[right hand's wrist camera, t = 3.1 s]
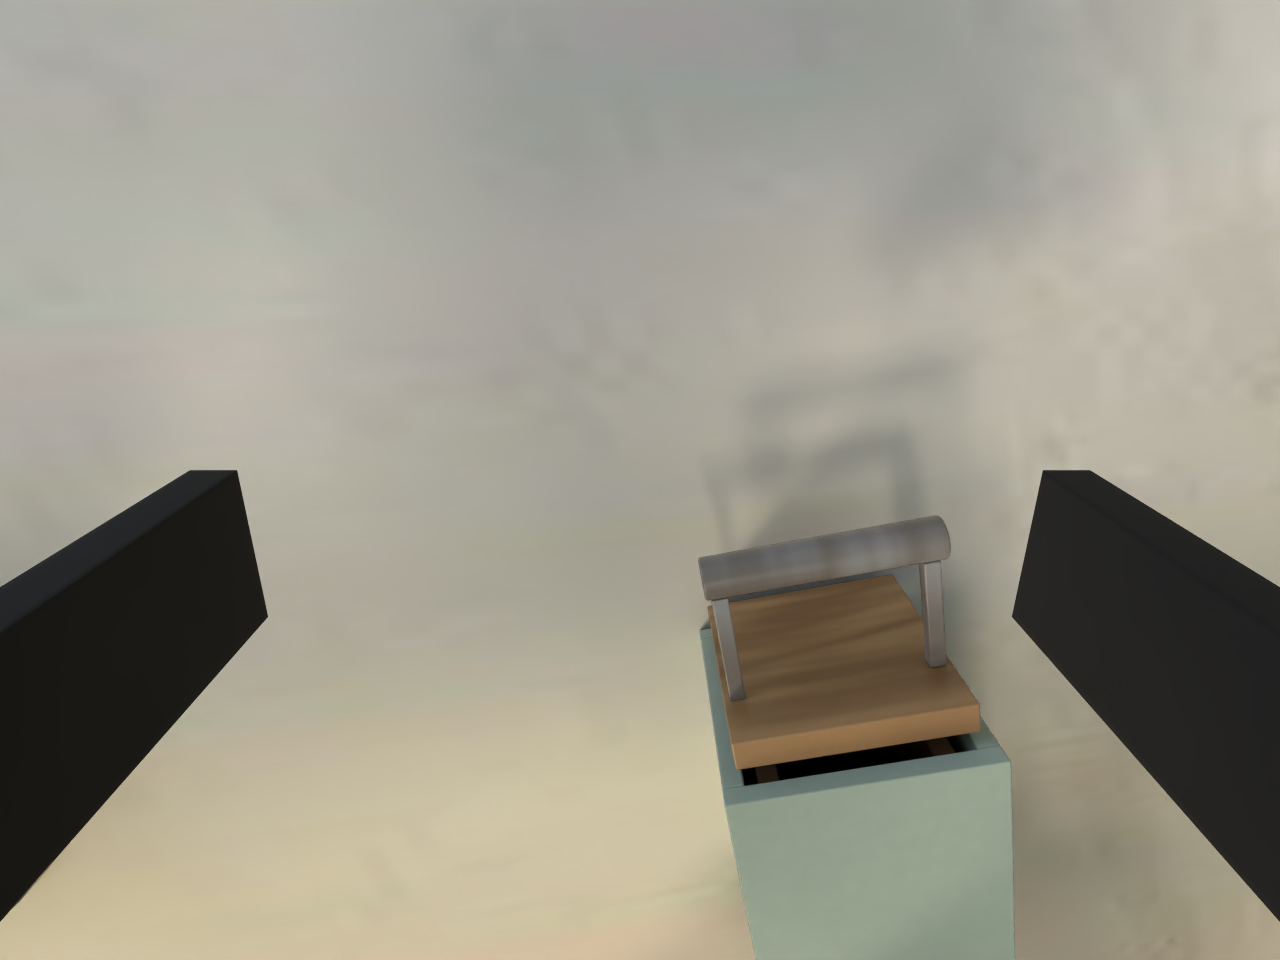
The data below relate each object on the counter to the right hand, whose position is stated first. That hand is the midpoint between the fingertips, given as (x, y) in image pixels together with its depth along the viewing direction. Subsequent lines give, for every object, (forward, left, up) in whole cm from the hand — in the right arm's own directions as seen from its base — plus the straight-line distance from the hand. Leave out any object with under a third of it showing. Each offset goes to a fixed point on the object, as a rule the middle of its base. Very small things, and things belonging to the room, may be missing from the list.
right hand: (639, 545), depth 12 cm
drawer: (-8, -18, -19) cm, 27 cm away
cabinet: (-12, -22, -20) cm, 32 cm away
